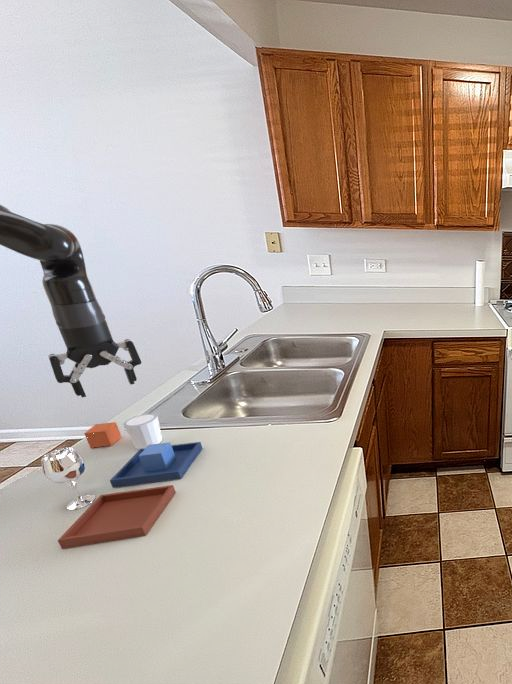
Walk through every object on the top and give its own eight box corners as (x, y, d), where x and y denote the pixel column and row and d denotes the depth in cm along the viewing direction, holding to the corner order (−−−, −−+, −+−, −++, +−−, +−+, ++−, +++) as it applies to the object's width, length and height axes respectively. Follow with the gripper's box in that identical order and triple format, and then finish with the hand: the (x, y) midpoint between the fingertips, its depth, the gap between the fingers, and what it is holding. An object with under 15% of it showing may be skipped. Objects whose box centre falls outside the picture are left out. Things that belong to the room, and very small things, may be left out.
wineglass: (104, 498, 83) (82, 451, 79) (67, 516, 79) (42, 466, 74) (93, 489, 86) (72, 442, 82) (57, 505, 81) (32, 457, 77)
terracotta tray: (61, 548, 71) (57, 540, 71) (104, 502, 82) (100, 494, 82) (145, 535, 74) (142, 527, 73) (176, 492, 85) (173, 484, 84)
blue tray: (112, 488, 87) (109, 480, 86) (142, 455, 98) (140, 448, 97) (180, 478, 89) (178, 471, 89) (202, 448, 100) (200, 441, 100)
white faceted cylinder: (148, 452, 99) (139, 427, 96) (124, 449, 100) (115, 425, 97) (172, 437, 105) (164, 414, 103) (149, 434, 106) (141, 411, 104)
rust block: (90, 448, 100) (83, 433, 99) (101, 438, 105) (95, 424, 103) (111, 446, 101) (105, 431, 100) (121, 436, 105) (115, 422, 104)
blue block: (144, 472, 91) (138, 455, 89) (154, 460, 95) (148, 444, 93) (167, 469, 92) (161, 453, 90) (176, 457, 96) (170, 442, 94)
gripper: (120, 312, 92) (142, 375, 98) (32, 326, 82) (63, 395, 88) (128, 318, 88) (151, 384, 94) (36, 333, 78) (68, 406, 84)
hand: (108, 389), depth 91 cm, fingers open, 8 cm apart
